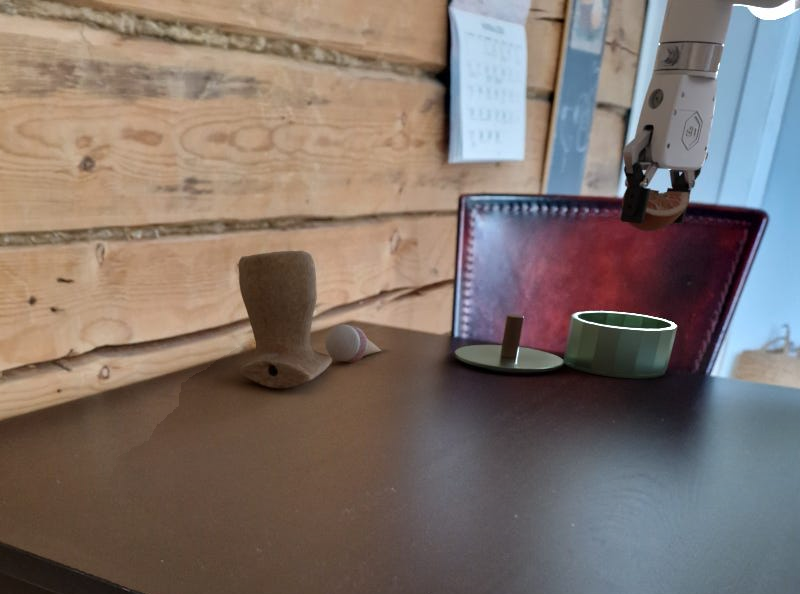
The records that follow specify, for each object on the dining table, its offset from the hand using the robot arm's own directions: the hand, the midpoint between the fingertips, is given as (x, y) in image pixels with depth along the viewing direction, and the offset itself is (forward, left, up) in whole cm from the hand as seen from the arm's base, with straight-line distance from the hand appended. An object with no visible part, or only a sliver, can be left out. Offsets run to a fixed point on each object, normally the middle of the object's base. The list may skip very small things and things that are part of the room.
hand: (652, 221), depth 113 cm
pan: (-2, -2, -19) cm, 20 cm away
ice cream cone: (+31, -22, -20) cm, 43 cm away
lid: (+12, -11, -19) cm, 25 cm away
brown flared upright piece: (+47, -17, -20) cm, 54 cm away
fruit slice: (0, 0, -1) cm, 1 cm away
